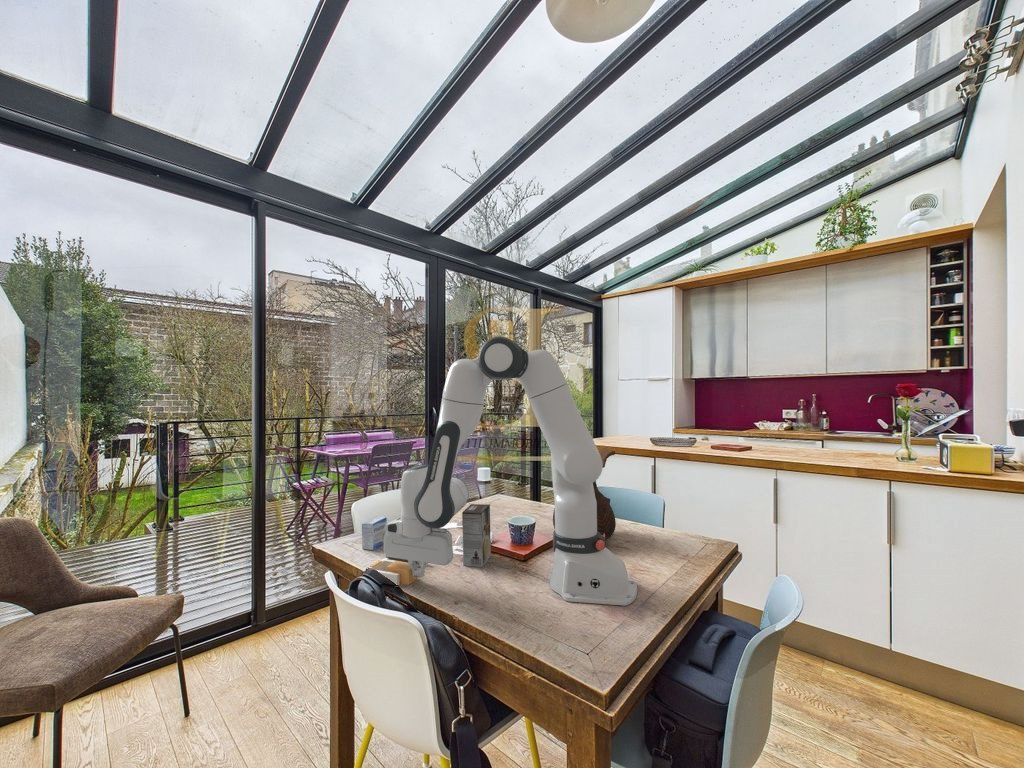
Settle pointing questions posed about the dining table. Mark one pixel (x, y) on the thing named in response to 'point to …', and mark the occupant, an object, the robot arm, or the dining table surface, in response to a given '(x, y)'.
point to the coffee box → (476, 535)
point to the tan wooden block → (402, 572)
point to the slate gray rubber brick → (399, 559)
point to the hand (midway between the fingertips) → (418, 576)
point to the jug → (602, 504)
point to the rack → (382, 568)
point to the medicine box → (373, 533)
